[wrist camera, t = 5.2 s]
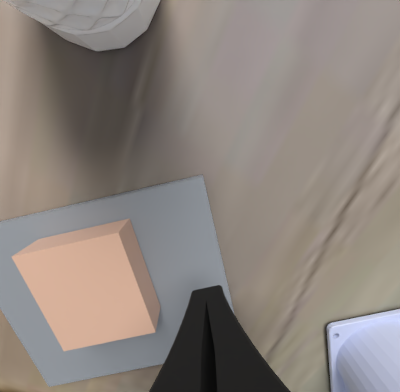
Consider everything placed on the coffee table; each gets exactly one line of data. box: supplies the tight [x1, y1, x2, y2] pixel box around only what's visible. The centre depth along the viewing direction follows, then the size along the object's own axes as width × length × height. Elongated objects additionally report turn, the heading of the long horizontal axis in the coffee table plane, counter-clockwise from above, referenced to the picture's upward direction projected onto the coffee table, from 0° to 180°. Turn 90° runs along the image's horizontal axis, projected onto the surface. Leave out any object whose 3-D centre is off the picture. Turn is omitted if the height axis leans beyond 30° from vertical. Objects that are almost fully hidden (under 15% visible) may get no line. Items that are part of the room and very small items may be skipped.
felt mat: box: [0, 174, 234, 387], centre depth 15 cm, size 14×16×1 cm
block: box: [12, 218, 160, 351], centre depth 13 cm, size 7×2×6 cm
